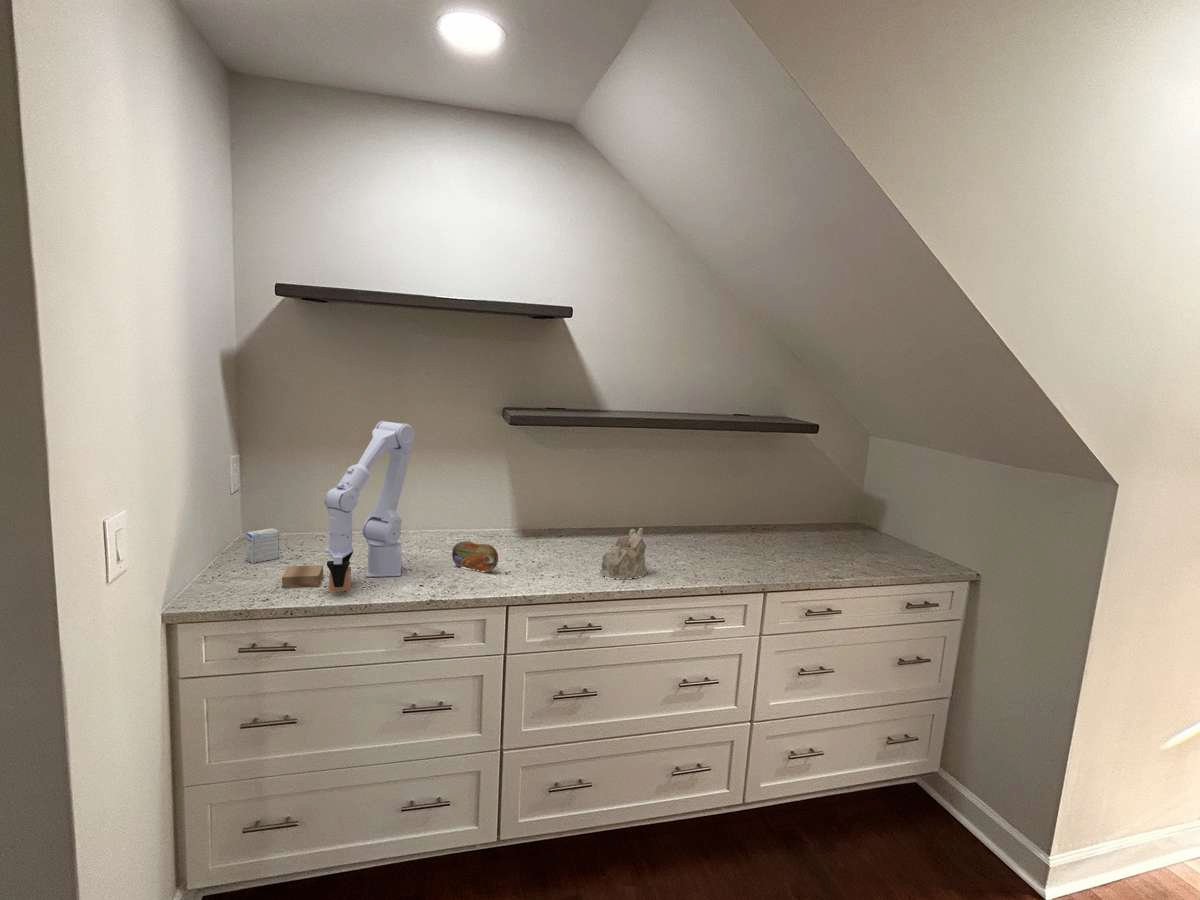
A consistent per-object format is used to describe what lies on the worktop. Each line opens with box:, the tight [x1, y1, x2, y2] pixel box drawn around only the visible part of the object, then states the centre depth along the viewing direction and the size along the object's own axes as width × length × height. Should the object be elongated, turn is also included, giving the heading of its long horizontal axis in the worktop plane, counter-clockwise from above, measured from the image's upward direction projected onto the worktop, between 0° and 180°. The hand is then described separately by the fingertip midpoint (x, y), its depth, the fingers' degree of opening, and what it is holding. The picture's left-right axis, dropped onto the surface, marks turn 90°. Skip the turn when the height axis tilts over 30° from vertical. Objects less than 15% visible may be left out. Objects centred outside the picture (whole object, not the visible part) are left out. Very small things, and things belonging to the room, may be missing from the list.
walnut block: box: [281, 564, 324, 589], centre depth 173 cm, size 9×9×3 cm
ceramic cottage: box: [599, 527, 647, 578], centre depth 197 cm, size 16×16×15 cm
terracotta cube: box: [328, 566, 352, 592], centre depth 170 cm, size 5×5×5 cm
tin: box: [451, 540, 499, 573], centre depth 191 cm, size 15×3×8 cm, turn 68°
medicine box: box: [245, 527, 281, 564], centre depth 188 cm, size 8×4×9 cm, turn 141°
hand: (340, 581), depth 170 cm, fingers open, 7 cm apart
